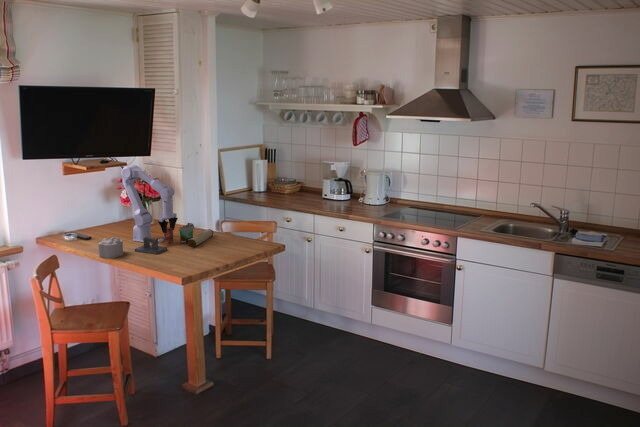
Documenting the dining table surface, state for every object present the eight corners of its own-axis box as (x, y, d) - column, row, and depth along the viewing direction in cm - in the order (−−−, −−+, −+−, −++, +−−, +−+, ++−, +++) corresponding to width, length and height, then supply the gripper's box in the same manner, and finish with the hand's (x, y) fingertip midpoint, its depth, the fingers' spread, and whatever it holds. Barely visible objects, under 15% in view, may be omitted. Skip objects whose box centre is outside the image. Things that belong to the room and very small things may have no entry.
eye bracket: (145, 246, 337) (145, 234, 335) (167, 249, 332) (166, 237, 330) (134, 251, 327) (134, 239, 326) (156, 254, 323) (156, 242, 321)
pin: (167, 240, 347) (166, 227, 345) (173, 241, 346) (172, 227, 344) (153, 246, 335) (152, 232, 333) (159, 247, 333) (158, 233, 332)
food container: (189, 245, 342) (189, 228, 340) (179, 244, 343) (179, 227, 341) (198, 239, 354) (197, 223, 352) (188, 238, 355) (187, 222, 353)
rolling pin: (192, 250, 334) (192, 241, 333) (183, 249, 335) (183, 240, 334) (216, 235, 364) (216, 228, 363) (208, 235, 365) (208, 227, 364)
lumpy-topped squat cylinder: (96, 256, 317) (95, 240, 315) (112, 250, 329) (111, 235, 327) (112, 258, 314) (111, 243, 312) (128, 252, 326) (127, 237, 324)
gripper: (166, 211, 333) (167, 235, 336) (180, 206, 346) (181, 229, 349) (155, 210, 335) (156, 233, 338) (170, 205, 348) (171, 227, 351)
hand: (168, 231), depth 344 cm, fingers open, 7 cm apart
